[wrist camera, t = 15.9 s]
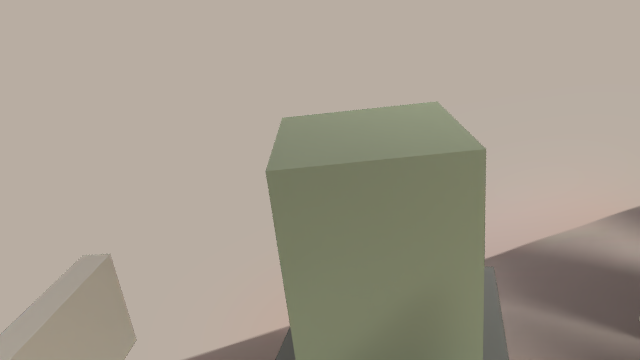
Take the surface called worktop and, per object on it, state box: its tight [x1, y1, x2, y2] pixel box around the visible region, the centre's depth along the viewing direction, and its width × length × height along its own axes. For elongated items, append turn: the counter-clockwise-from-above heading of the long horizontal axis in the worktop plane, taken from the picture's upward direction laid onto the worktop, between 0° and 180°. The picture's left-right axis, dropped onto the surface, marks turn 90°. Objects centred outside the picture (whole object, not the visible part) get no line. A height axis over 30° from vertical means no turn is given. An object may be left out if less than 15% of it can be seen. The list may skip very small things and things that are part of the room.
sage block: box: [266, 102, 486, 360], centre depth 21 cm, size 7×7×10 cm
